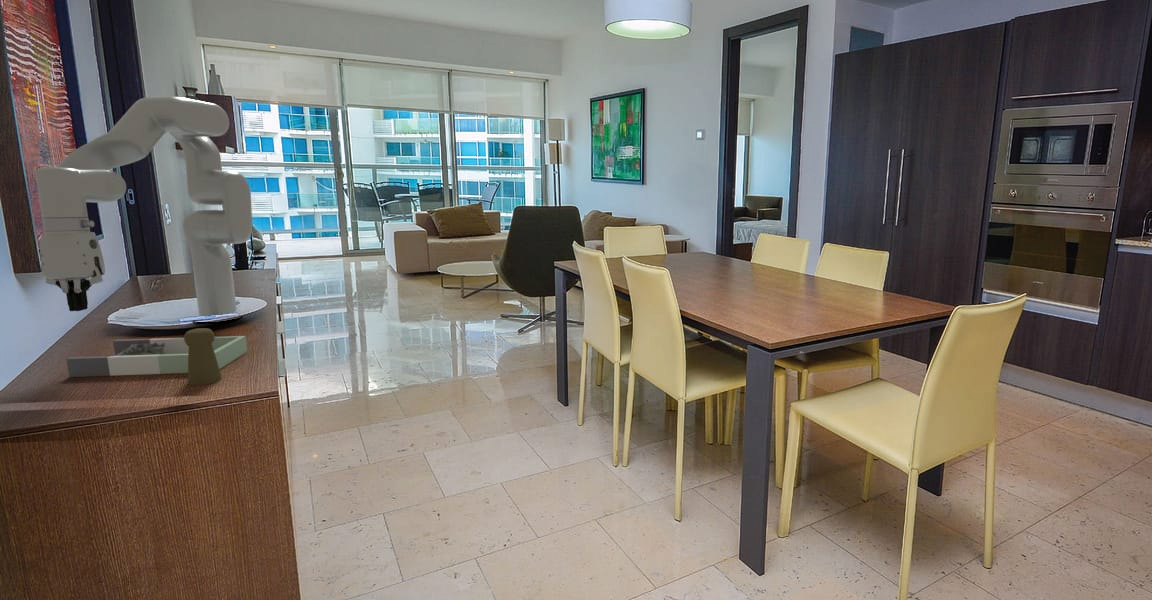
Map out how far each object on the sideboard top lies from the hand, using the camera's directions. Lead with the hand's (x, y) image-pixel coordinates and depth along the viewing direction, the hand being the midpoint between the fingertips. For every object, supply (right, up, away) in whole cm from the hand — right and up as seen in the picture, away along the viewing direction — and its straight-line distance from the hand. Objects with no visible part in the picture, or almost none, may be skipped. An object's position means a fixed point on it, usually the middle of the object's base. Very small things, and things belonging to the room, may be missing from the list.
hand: (78, 309), depth 128 cm
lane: (+15, -12, +5) cm, 20 cm away
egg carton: (+14, -13, +5) cm, 20 cm away
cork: (+32, -15, -7) cm, 36 cm away
